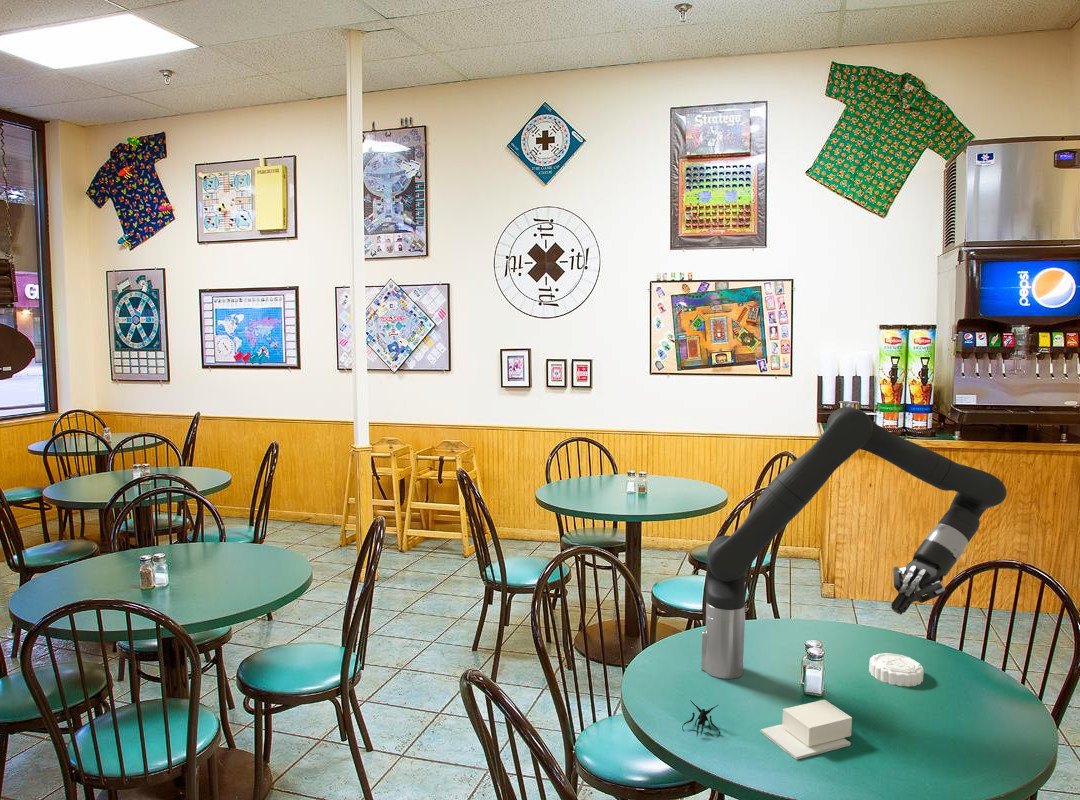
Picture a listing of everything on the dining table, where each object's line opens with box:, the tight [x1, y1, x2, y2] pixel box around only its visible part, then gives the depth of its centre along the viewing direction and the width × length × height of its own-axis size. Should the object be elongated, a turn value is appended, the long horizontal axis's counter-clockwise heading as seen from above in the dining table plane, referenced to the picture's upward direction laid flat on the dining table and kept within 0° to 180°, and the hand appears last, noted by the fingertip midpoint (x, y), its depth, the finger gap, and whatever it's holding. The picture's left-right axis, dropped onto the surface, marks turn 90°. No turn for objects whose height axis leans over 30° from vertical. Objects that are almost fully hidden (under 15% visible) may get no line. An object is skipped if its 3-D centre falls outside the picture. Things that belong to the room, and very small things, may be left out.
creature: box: [681, 699, 721, 738], centre depth 163 cm, size 8×5×8 cm
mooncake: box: [868, 652, 924, 687], centre depth 189 cm, size 12×12×4 cm
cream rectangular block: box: [781, 699, 853, 747], centre depth 161 cm, size 8×4×11 cm
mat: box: [760, 723, 851, 761], centre depth 160 cm, size 11×14×1 cm
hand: (895, 611), depth 166 cm, fingers closed
